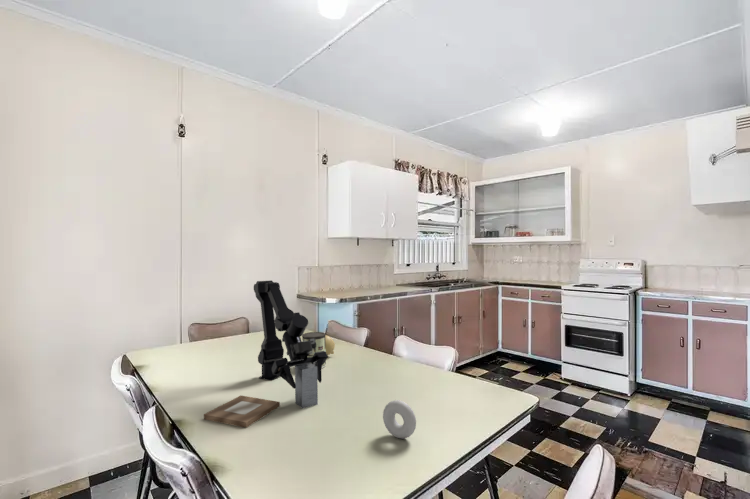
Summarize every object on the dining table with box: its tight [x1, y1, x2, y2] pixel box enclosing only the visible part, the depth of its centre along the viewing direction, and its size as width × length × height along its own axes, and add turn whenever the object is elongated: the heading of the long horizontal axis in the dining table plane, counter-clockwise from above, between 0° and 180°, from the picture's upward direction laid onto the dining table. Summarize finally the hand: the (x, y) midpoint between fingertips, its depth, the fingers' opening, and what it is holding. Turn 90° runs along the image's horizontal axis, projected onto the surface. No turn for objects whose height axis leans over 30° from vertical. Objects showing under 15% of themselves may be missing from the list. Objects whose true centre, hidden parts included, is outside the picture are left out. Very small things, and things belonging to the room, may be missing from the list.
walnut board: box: [203, 395, 281, 429], centre depth 119 cm, size 16×16×2 cm
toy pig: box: [325, 335, 336, 356], centre depth 183 cm, size 10×12×11 cm
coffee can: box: [301, 331, 327, 369], centre depth 167 cm, size 10×10×14 cm
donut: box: [382, 399, 417, 440], centre depth 102 cm, size 10×4×10 cm, turn 55°
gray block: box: [294, 363, 319, 409], centre depth 126 cm, size 6×6×12 cm
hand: (308, 384), depth 125 cm, fingers open, 9 cm apart
